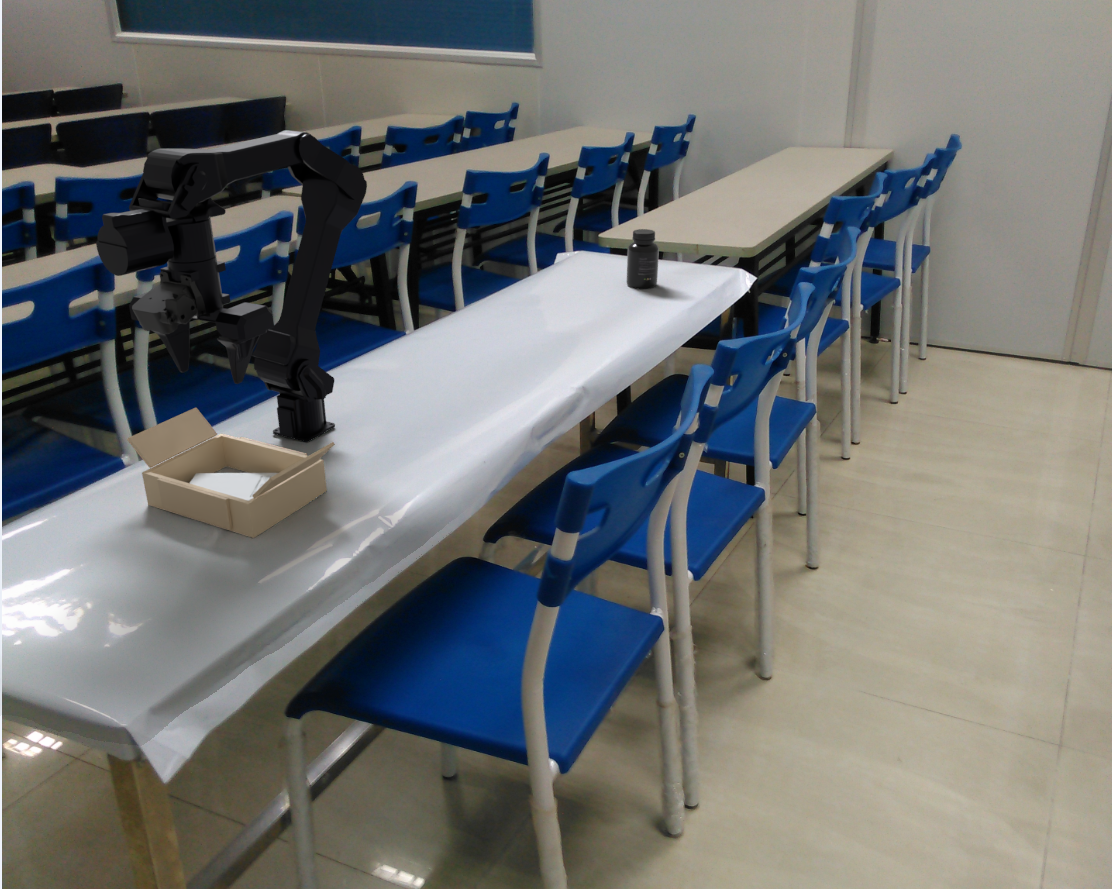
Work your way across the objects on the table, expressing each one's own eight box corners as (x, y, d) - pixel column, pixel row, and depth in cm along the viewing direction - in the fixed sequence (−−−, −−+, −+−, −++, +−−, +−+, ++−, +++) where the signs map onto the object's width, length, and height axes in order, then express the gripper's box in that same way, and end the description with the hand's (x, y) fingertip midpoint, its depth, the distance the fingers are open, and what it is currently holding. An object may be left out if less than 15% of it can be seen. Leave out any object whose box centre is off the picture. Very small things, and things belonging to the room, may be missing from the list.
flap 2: (314, 459, 120) (316, 461, 120) (252, 495, 111) (254, 498, 111) (333, 441, 117) (335, 444, 117) (270, 477, 108) (272, 480, 108)
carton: (228, 462, 130) (224, 432, 128) (329, 490, 123) (325, 458, 121) (145, 506, 118) (138, 474, 116) (250, 539, 111) (245, 505, 109)
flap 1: (151, 466, 117) (149, 468, 118) (217, 434, 126) (216, 435, 126) (128, 437, 117) (126, 439, 117) (196, 407, 126) (194, 408, 126)
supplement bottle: (621, 282, 215) (623, 228, 209) (649, 280, 216) (652, 227, 211) (633, 290, 209) (635, 235, 204) (661, 288, 210) (665, 233, 205)
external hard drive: (198, 483, 124) (295, 481, 124) (178, 514, 117) (281, 512, 117) (196, 471, 123) (293, 470, 124) (176, 502, 116) (279, 500, 116)
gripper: (81, 263, 113) (107, 386, 120) (200, 283, 106) (221, 412, 113) (154, 243, 123) (175, 358, 129) (268, 260, 115) (284, 380, 122)
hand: (211, 377), depth 123 cm, fingers open, 9 cm apart
